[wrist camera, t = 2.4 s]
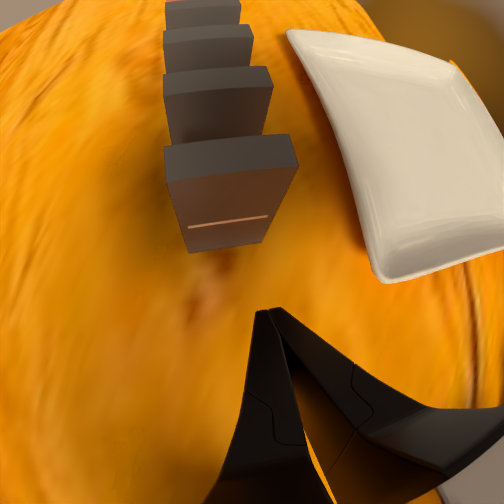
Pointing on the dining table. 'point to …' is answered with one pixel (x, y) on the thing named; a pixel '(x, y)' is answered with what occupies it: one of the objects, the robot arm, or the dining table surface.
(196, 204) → the domino
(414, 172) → the square plate
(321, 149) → the dining table surface
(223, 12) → the domino
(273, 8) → the dining table surface
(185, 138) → the domino
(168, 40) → the domino
